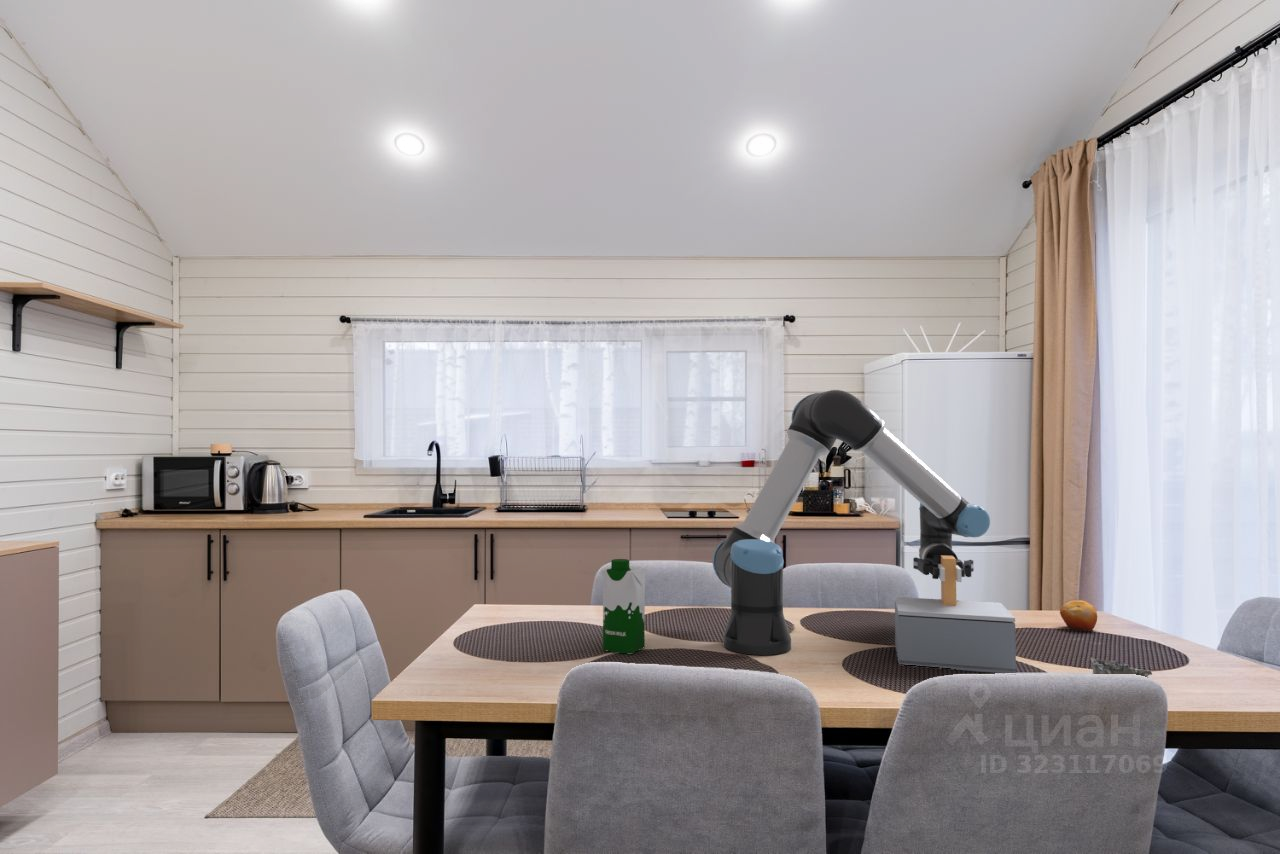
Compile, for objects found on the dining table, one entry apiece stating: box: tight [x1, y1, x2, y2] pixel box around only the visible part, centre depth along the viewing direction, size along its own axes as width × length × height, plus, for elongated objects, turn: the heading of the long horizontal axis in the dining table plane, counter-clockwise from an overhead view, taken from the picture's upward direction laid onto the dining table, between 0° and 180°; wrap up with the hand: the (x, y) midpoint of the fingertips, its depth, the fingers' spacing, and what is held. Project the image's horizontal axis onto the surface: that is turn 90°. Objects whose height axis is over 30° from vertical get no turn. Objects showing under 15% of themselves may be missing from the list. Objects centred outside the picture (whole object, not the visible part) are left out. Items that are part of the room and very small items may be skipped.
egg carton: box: [1090, 657, 1153, 678], centre depth 142 cm, size 11×8×4 cm
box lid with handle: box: [894, 555, 1016, 623], centre depth 158 cm, size 22×16×11 cm
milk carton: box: [601, 558, 647, 654], centre depth 165 cm, size 9×9×20 cm
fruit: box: [1059, 599, 1098, 632], centre depth 187 cm, size 8×8×8 cm
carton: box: [894, 602, 1017, 674], centre depth 158 cm, size 22×16×10 cm
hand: (951, 575), depth 157 cm, fingers closed on box lid with handle, 2 cm apart
